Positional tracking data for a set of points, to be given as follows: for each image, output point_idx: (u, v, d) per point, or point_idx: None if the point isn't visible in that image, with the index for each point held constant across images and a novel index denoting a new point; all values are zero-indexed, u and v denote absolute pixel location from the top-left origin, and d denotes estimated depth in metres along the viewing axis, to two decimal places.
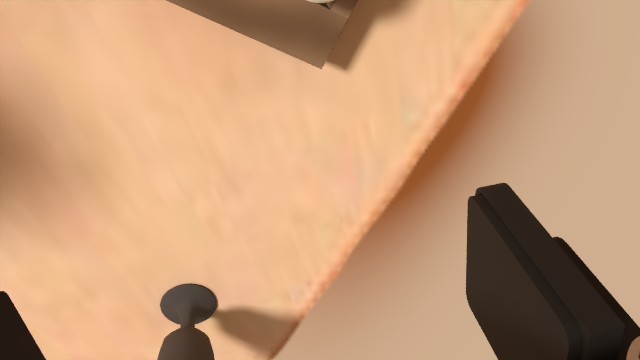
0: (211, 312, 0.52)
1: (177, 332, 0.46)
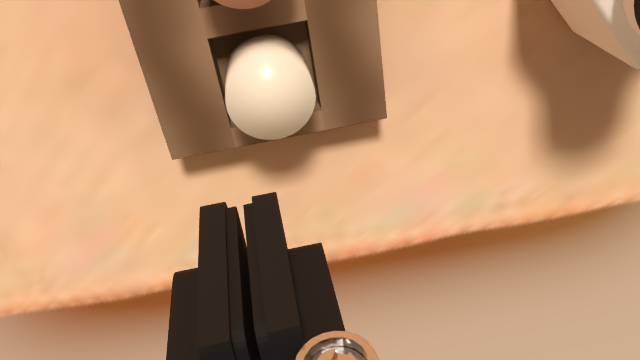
0: None
1: None
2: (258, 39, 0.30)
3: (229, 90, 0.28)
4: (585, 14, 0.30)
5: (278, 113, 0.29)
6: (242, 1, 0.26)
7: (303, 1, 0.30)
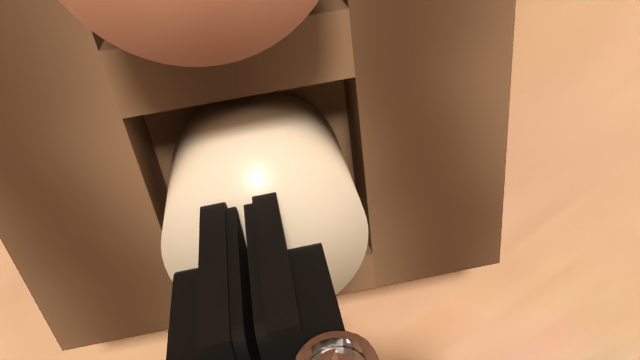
0: None
1: None
2: (240, 103, 0.14)
3: (168, 231, 0.12)
4: None
5: None
6: (194, 46, 0.09)
7: (349, 35, 0.13)
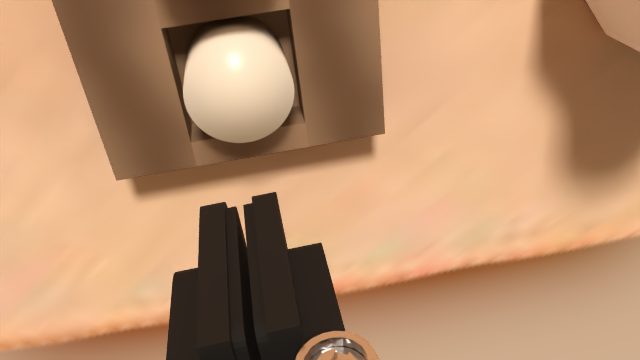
0: None
1: None
2: (225, 20, 0.25)
3: (187, 81, 0.23)
4: (635, 11, 0.24)
5: (249, 110, 0.24)
6: None
7: None
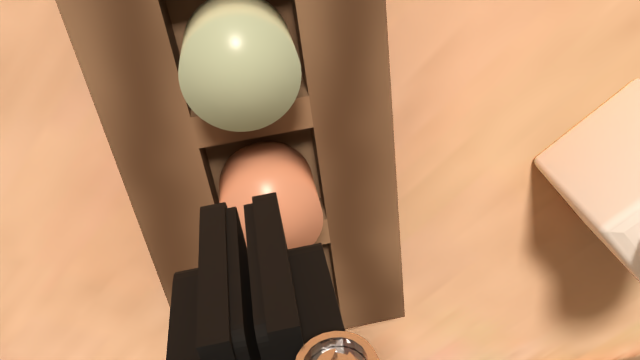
0: None
1: None
2: None
3: None
4: (604, 241, 0.30)
5: None
6: None
7: (327, 228, 0.30)
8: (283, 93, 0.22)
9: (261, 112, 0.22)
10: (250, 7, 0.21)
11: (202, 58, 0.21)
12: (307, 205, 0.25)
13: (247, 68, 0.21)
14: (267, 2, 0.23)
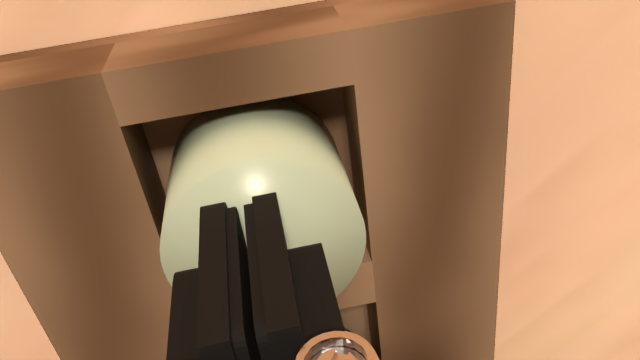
0: None
1: None
2: None
3: None
4: None
5: None
6: None
7: None
8: (335, 270, 0.13)
9: None
10: (281, 133, 0.13)
11: None
12: None
13: None
14: (305, 108, 0.15)
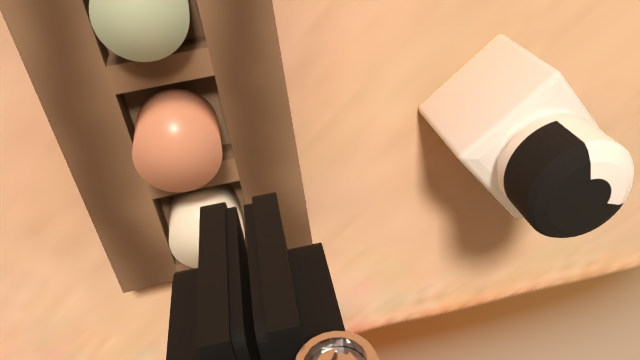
0: None
1: None
2: None
3: (171, 236, 0.34)
4: None
5: None
6: (180, 187, 0.31)
7: (235, 166, 0.34)
8: (176, 29, 0.28)
9: (159, 45, 0.28)
10: None
11: (107, 0, 0.26)
12: (207, 138, 0.30)
13: (144, 8, 0.27)
14: None
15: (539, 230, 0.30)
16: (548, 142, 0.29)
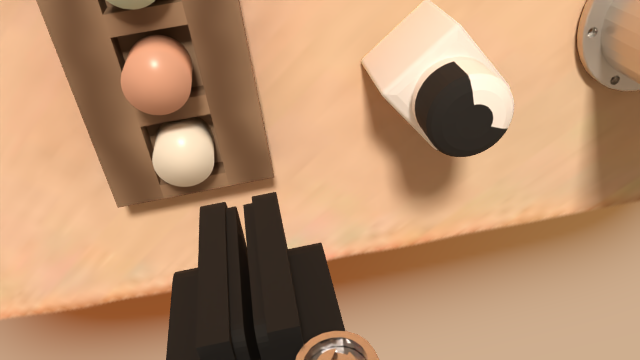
0: None
1: None
2: None
3: (154, 155, 0.43)
4: None
5: (189, 169, 0.44)
6: (159, 110, 0.39)
7: (206, 102, 0.43)
8: None
9: None
10: None
11: None
12: (178, 71, 0.38)
13: None
14: None
15: (439, 148, 0.38)
16: (443, 76, 0.37)
